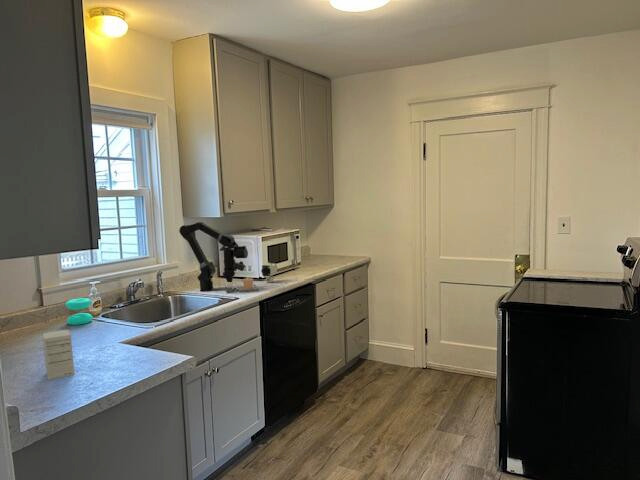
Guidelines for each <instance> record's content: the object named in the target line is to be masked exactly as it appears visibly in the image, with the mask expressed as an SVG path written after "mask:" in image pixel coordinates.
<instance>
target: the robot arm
mask: <svg viewBox="0 0 640 480" xmlns="http://www.w3.org/2000/svg"><path fill="white" fill-rule="evenodd" d="M178 231H179V234H180V235H181V236H182V238H183V239H184V240H186V242H187V243H188V245H189V246H190V248H191V251H192V253H193V255H195V258H196V259H197V262H198V264H199V270H200V273H199V275H198V276H197V280H198V281H199V287H200V288H199V292H209V291H210V292H211V291H212V290H213V289H214V282H213V279H212V278H214V275H215V274H216V271H217V270H216V266H215V264H214V262H213V261H209V260H208V259H207V257H206V255H205V253H204V252H203V251H204V250H203V249H202V247H201V246H200V243H199V242H198V240H197V236H196V231H201V232H203V233H205V235H208V236H210V237H212V238H213V239H215V240H216V241H218V243H219V244H220V245H221V248H219V251H220V252H222V251H223V271H222V276H223V277H224V278H225V280H226V283H227V282H233V281H234V280H233V279H234V276H235V275H236V271H237V270H238V271H240V272H244V271H245V267H246V265H245V264H244V262H243V261H241V260H240V261H239V262H238V261H237V262H236V259H247V258H248V256H249V255H248V254H249V252H248V249H247V245H242V246H239V245H238V242H236V240H235V237H234V236H233V235H231V234H227V233H223V232H221V231H218V230H217V229H215V228H213V227H211V226H209V225H207V224H205V223H204V222H203V221H197V222H196V223H193V224H185V225H181V226H180V228H179V230H178ZM235 258H236V259H235Z"/></svg>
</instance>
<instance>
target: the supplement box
mask: <svg viewBox="0 0 640 480" xmlns="http://www.w3.org/2000/svg"><path fill="white" fill-rule="evenodd" d="M70 331H71V330H70V329H62V330H56V331H50V332H45V333H43V334H42V344H43V356H44V362H45V369H46V377H47V381H50V380H55V379H56V380H57V379H60V378H61V379H62V378H66V377H71V376H74V375H75V365H74V356H73V355H74V354H73V343H72V342H73V341H72V335H71V332H70Z"/></svg>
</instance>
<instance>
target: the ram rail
mask: <svg viewBox="0 0 640 480" xmlns="http://www.w3.org/2000/svg"><path fill="white" fill-rule="evenodd" d="M234 290H235V286H234V285H233V289H232V287H227V286H226V290H225V291H226V294H233V293H234Z"/></svg>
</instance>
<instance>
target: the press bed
mask: <svg viewBox="0 0 640 480" xmlns="http://www.w3.org/2000/svg"><path fill="white" fill-rule="evenodd" d="M258 290H259V287H258V286H253V289H244V287H243V286H242V287H239V289H238V293H252V292H254V293H255V292H256V293H257V292H258Z"/></svg>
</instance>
